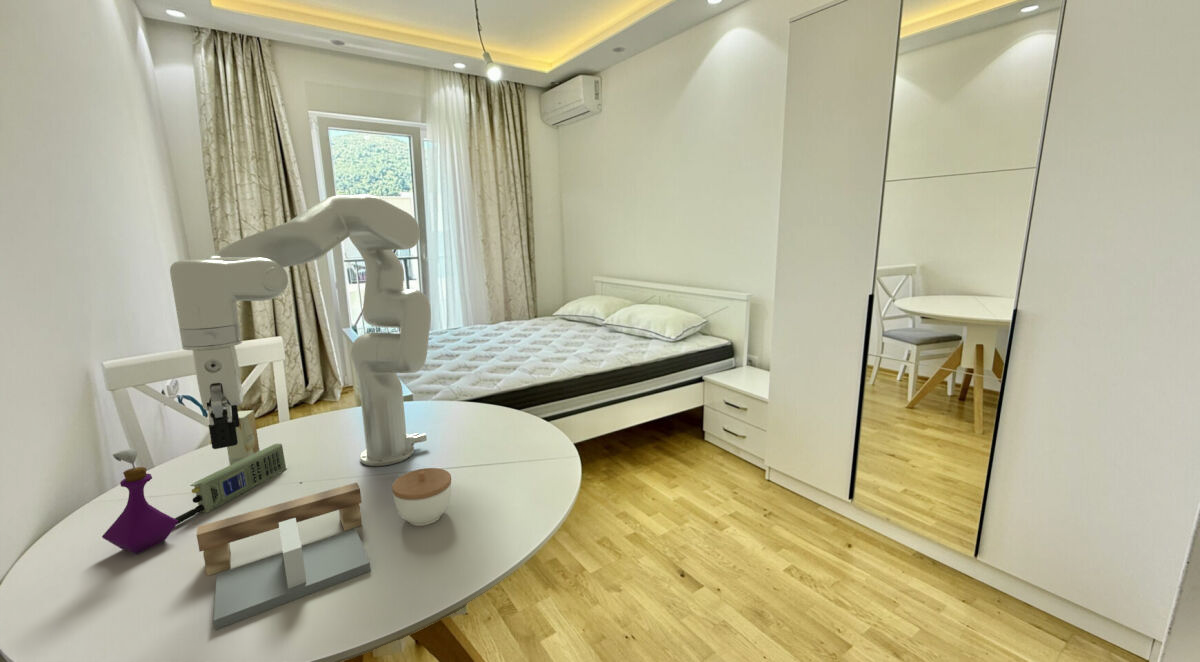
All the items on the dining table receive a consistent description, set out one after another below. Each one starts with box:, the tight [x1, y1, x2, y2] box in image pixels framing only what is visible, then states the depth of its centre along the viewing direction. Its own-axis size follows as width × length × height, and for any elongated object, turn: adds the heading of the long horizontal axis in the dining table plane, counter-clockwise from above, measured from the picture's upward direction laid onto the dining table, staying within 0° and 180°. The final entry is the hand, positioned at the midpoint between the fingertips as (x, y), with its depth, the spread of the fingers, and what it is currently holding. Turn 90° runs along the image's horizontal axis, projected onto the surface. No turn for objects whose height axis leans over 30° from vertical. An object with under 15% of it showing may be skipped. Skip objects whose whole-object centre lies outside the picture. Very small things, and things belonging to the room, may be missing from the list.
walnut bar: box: [196, 482, 363, 552], centre depth 85 cm, size 24×3×3 cm, turn 127°
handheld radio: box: [173, 443, 287, 526], centre depth 102 cm, size 7×3×25 cm
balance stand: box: [213, 518, 371, 631], centre depth 76 cm, size 20×12×8 cm, turn 127°
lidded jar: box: [391, 467, 452, 527], centre depth 93 cm, size 11×11×9 cm
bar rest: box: [202, 504, 363, 576], centre depth 86 cm, size 23×5×4 cm, turn 127°
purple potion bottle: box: [101, 448, 178, 555], centre depth 84 cm, size 8×8×18 cm
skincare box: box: [226, 409, 261, 466], centre depth 118 cm, size 6×4×12 cm
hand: (227, 437), depth 80 cm, fingers open, 9 cm apart
